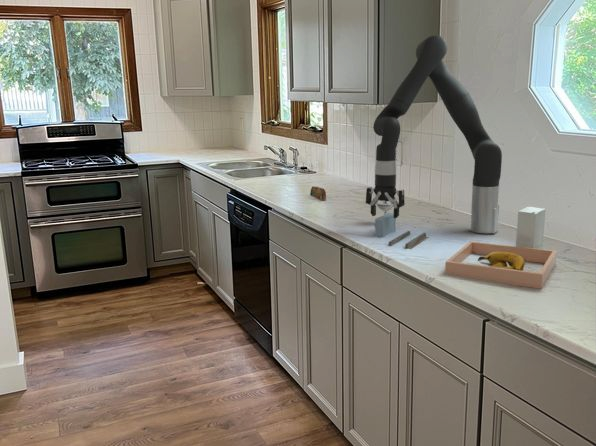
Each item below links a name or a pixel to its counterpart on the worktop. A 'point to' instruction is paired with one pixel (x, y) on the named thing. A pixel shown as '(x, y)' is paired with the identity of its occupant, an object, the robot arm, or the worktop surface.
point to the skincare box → (530, 227)
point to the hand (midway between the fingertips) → (384, 216)
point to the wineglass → (384, 205)
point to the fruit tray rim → (503, 274)
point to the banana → (504, 260)
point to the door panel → (385, 225)
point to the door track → (412, 242)
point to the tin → (318, 193)
